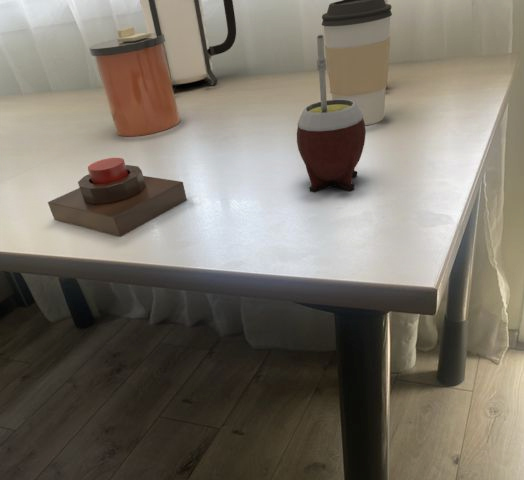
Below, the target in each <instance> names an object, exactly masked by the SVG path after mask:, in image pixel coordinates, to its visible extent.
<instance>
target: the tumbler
mask: <svg viewBox="0 0 524 480" xmlns="http://www.w3.org/2000/svg"><path fill="white" fill-rule="evenodd" d="M151 35H152V36H151V37H148V38H144V39H141V40H137V41H129V42H118V40H117V38H115V39H111V40H106V41H103V42H99V43H95V44H93V45H91V46H89V47H88V50H89V54H90V56H92V57H94V59H95V63H96V67H97V71H98V74H99V77H100V80H101V84H102V87H103V91H104V94H105V97H106V101H107V104H108V107H109V111H110V114H111V115H110V116H111V118H112V121H113V124H114V128H115V132H116V134H117V136H120V137H139V136H146V135H152V134H157V133H159V132H163V131H166V130H168V129H171V128H173V127H175V126H177V125H178V124H179V123H180V121H181V120H180V114H179V110H178V105H177V101H176V97H175V92H174V91H173V87H172V82H171V78H170V73H169V69H168V64H167V60H166V55H165V51H164V46H163V43H164V42H165V41H166V40H165V36H164V34H163V33H151Z"/></svg>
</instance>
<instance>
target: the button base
mask: <svg viewBox="0 0 524 480" xmlns="http://www.w3.org/2000/svg"><path fill="white" fill-rule="evenodd" d="M125 165H126V168H127V172H128V176H127V177H125V178H123V179H121V180H118V181H115V182H111V183H105V184H93V183H92V180H91V177H90V174H89V173H88V174H86V175H84V176H83V177H81V178H80V179H79V180H78V181H77V184H78V188H75V189H74V190H71V191H70V192H67V193H65V194H63V195H60V196H58V197H56V198H54V199H51V200H49V201H47V205H48V207H49V210H50V212H51V214H52V217H53V219H54V221H58V222H62V223H64V224H68V225H72V226H75V227H80V228H83V229H88V230H93V231H96V232H98V233H99V232H100V233H104V234H108V235H110V236H116V237H119V238H122V237H123V236H125V235H126V234H128V233H131V232H132V231H134V230H136V229H137V228H139V227H141V226H143V225H145V224H147V223H148V222H150V221H152V220H154V219H156V218H157V217H160V216H161V215H163V214H164V213H165V214H166V213H167V212H168V211H170V210H173V209H174V208H175V207H177V206H179V205H182V204H183V203H185V202H186V201H188V198H187V194H186V189H185V185H184V182H183V181H180V180H173V179H167V178H161V177H153V176H147V175H144V174H143V171H142V169H141V168H140V167H139V165H138V166H137V165H132V164H125Z"/></svg>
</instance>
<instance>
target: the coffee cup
mask: <svg viewBox="0 0 524 480" xmlns="http://www.w3.org/2000/svg"><path fill="white" fill-rule="evenodd" d="M392 16H393V13H392V5H391V4H389V3H387V4H386V3H385V1H384V0H338V1H334V2H331V3H329V5H328V8H327V11H326V12H325V13H323V14H322V15H321V19H322V22H321V26H322V27H323V33H324V43H325V44H324V52H325V59H326V68H327V75H328V83H329V91H330V94H331V98H332V99H331V100H351V101H353V102H354V103H356V105H357V106H358V107H359V109H360V110H361V112H362V114H363V119H364V123H365V127H366V126H370V125H374V124H377V123H379V122H381V121H383V120H384V117H385V103H386V88H387V87H388V76H389V61H390V47H391V36H390V29H391V17H392ZM386 86H387V87H386Z"/></svg>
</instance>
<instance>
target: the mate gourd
mask: <svg viewBox="0 0 524 480" xmlns="http://www.w3.org/2000/svg"><path fill="white" fill-rule="evenodd" d="M316 42H317V45H316V46H317V60H316V69H317V71H318V79H319V93H320V94H319V95H320V96H319V97H320V101H317V102H315V103H314V102H313V103H311V104H309V105H307V106H306V107H305V108H303V111H302V113H301V114H300V116H299V119H298V122H297V129H296V144H297V150H298V152H299V154H300V155H299V156H300V157H301V159H302V161H303V164H304V165H305V169H306V172H307V175H308V178H309V180H310V184H311V186H309V187H308V190H309V192H310V193H317V192H321V191H322V190H325V189H327V188H331V187H336V188H339V189H341V190H344V191H348V192H352V191H354V190H355V187H356V185H355V184H353V183H352V179H354V178H356V177H358V171H357V170H355V169H356V167H357V165H358V164H359V162H360V160H361V157H362V155H363V152H364V147H365V143H366V142H365V141H366V134H367V132H366V131H367V130H366V126H365V123H364V119H363V114H362V112H361V110H360V109H359V107H358V106H357V105H356V103H354V102H353V101H351V100H333V99H328V100H327V83H326V82H327V81H326V70H327V59H326V57H325V35H323V34H318V35H317V37H316Z"/></svg>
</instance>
